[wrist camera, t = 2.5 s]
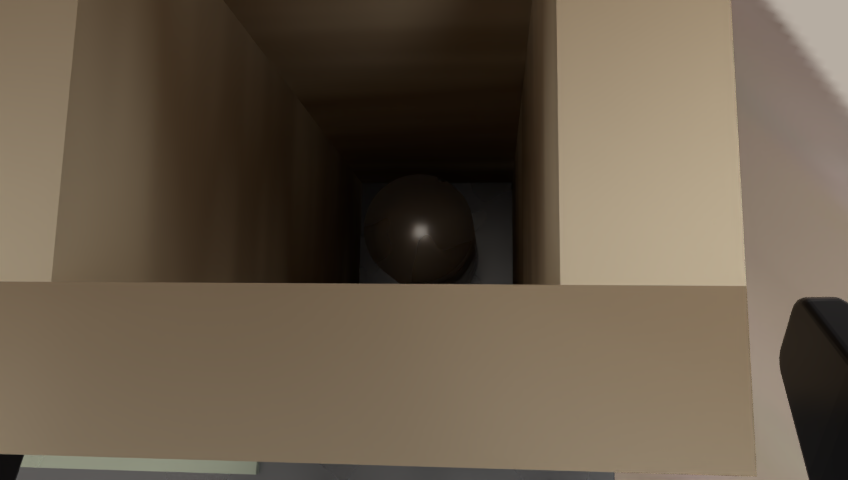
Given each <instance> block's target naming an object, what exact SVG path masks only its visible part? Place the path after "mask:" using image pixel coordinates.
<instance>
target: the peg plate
mask: <svg viewBox="0 0 848 480" xmlns="http://www.w3.org/2000/svg"><path fill="white" fill-rule="evenodd" d="M359 284H503V285H513V243H512V182H487V183H448V182H447V181H445V180H443V179H441V178H438V177H435V176H431V175H424V174H415V175H408V176H404V177H401V178H398V179H396V180H394V181H392V182H390V183H362V199H361V233H360V268H359ZM16 480H614V472H588V471H554V470H521V469H487V468H454V467H420V466H386V465H353V464H319V463H286V462H252V461H219V460H185V459H152V458H118V457H84V456H51V455H24V457H23V460H22V463H21V466H20V469H19V472H18V475H17V478H16Z"/></svg>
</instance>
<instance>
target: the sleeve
mask: <svg viewBox="0 0 848 480" xmlns="http://www.w3.org/2000/svg"><path fill="white" fill-rule="evenodd" d="M415 174H424V175H431V176H435V177H438V178H441V179H443V180H445V181H447V182H448V183H487V182H512V243H513V285H503V284H359V268H360V233H361V199H362V183H390V182H392V181H394V180H396V179H398V178H401V177H404V176H408V175H415ZM0 454H17V455H51V456H84V457H118V458H152V459H185V460H219V461H252V462H286V463H319V464H353V465H386V466H420V467H454V468H487V469H521V470H554V471H588V472H621V473H655V474H689V475H722V476H756V477H757V472H756V454H755V435H754V417H753V399H752V380H751V362H750V343H749V325H748V307H747V288H746V270H745V251H744V233H743V215H742V196H741V178H740V159H739V141H738V123H737V104H736V86H735V67H734V49H733V30H732V12H731V0H0Z"/></svg>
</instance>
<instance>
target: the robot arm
mask: <svg viewBox="0 0 848 480" xmlns="http://www.w3.org/2000/svg"><path fill="white" fill-rule="evenodd" d="M779 359H780V370H781V375H782V379H783V382H784V386H785V390H786V394H787V398H788V401H789V405H790V409H791V413H792V417H793V420H794V424H795V428H796V432H797V436H798V439H799V443H800V447H801V451H802V455H803V458H804V462H805V466H806V470H807V474H808V477H809V480H848V303H847V302H846V301H844V300H842V299H840V298H837V297H805V298H801V299H799V300H798V301H797V302H796V303H795V304H794V306H793V309H792V312H791V315H790V319H789V322H788V326H787V329H786V332H785V336H784V339H783V343H782V346H781V350H780V357H779ZM23 457H24V455H17V454H0V480H16V478H17V475H18V472H19V469H20V466H21V463H22V460H23Z"/></svg>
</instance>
